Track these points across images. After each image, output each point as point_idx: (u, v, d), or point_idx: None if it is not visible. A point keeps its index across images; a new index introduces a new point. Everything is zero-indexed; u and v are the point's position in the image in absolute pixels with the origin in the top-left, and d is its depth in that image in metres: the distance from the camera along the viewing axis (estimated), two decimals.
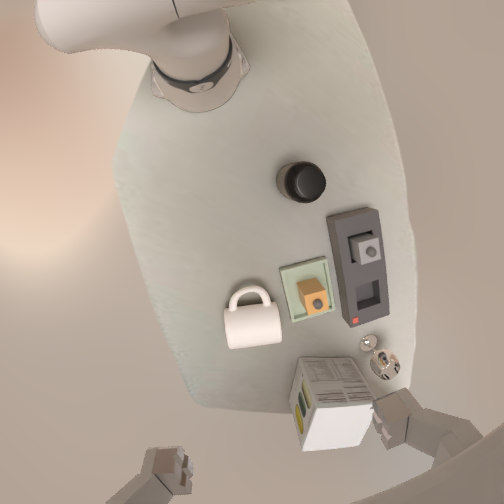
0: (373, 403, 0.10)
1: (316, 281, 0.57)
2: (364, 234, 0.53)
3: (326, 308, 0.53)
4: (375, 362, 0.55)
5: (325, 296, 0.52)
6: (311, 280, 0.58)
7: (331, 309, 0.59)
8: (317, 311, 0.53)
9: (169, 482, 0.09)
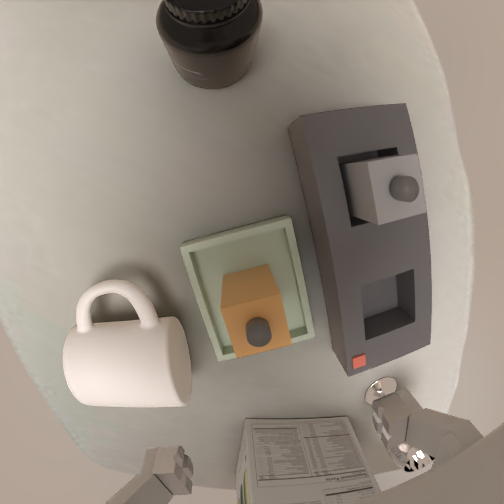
0: (373, 403, 0.10)
1: (265, 272, 0.24)
2: (379, 157, 0.21)
3: (284, 342, 0.20)
4: None
5: (280, 311, 0.20)
6: (256, 270, 0.25)
7: (306, 335, 0.27)
8: (260, 349, 0.20)
9: (169, 482, 0.09)
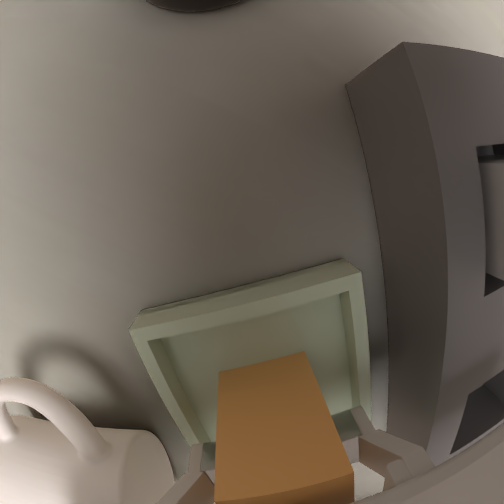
0: None
1: (305, 381, 0.11)
2: None
3: None
4: None
5: (346, 492, 0.07)
6: (283, 369, 0.12)
7: None
8: None
9: None
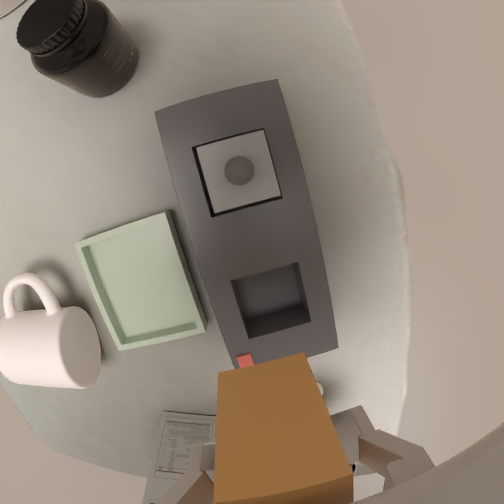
0: None
1: (305, 382, 0.11)
2: None
3: None
4: None
5: (345, 493, 0.07)
6: (283, 370, 0.12)
7: (196, 330, 0.26)
8: None
9: None
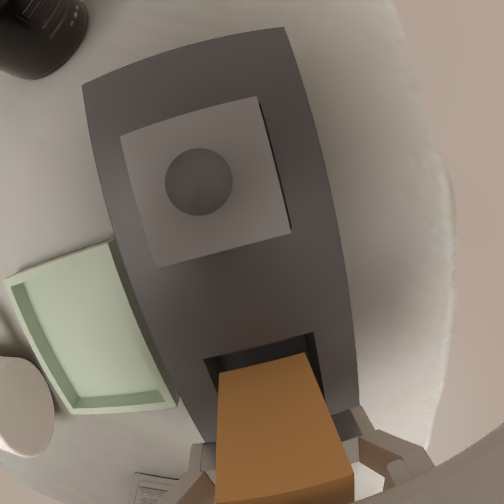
0: None
1: (305, 382, 0.11)
2: None
3: None
4: None
5: (346, 493, 0.07)
6: (284, 371, 0.12)
7: (163, 404, 0.17)
8: None
9: None
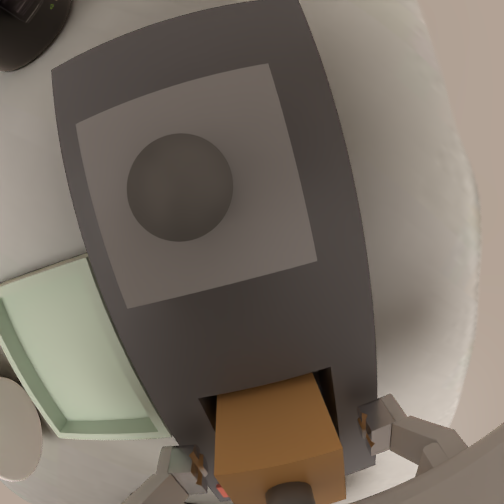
0: (357, 409, 0.10)
1: None
2: None
3: (334, 499, 0.08)
4: None
5: (336, 470, 0.08)
6: None
7: (156, 433, 0.15)
8: None
9: (185, 481, 0.09)
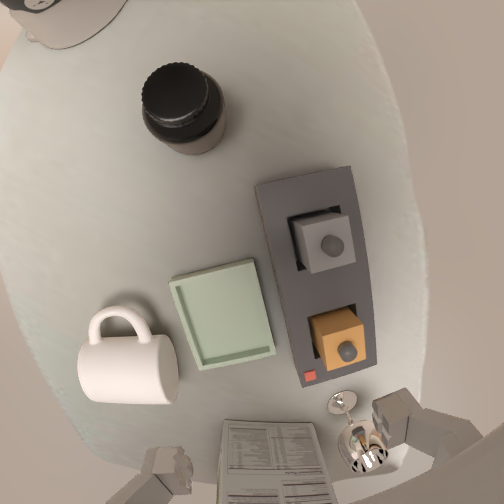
0: (373, 403, 0.10)
1: None
2: (324, 214, 0.28)
3: (361, 357, 0.27)
4: (345, 445, 0.28)
5: (361, 336, 0.26)
6: None
7: (268, 353, 0.33)
8: (345, 363, 0.27)
9: (169, 482, 0.09)
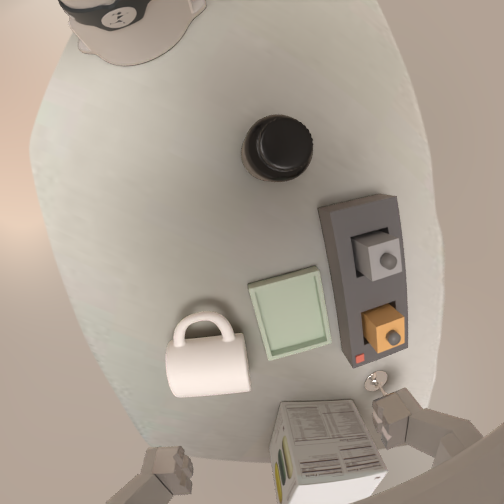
0: (373, 403, 0.10)
1: None
2: (376, 233, 0.35)
3: (401, 342, 0.34)
4: None
5: (402, 326, 0.33)
6: None
7: (325, 342, 0.40)
8: (390, 347, 0.34)
9: (169, 482, 0.09)
